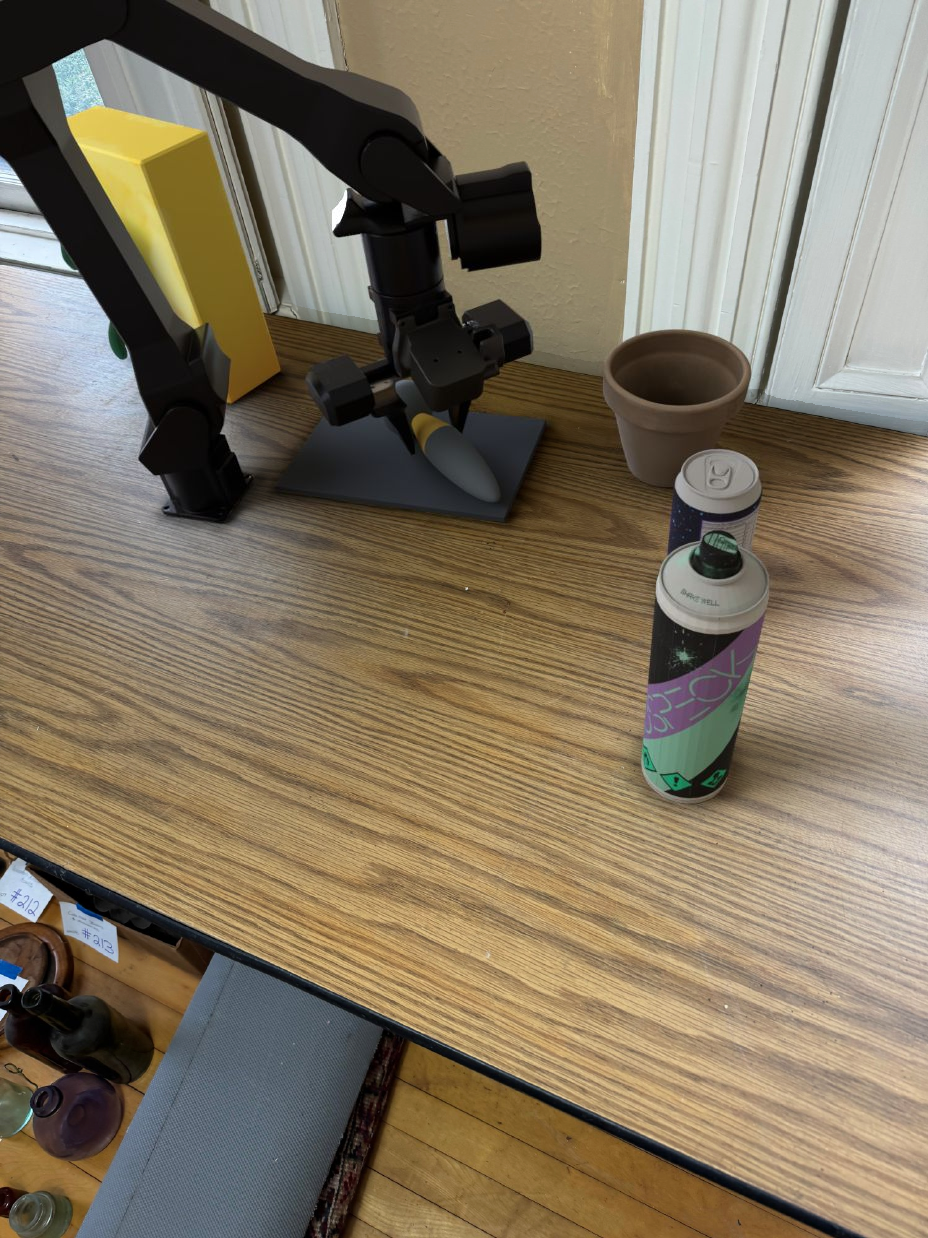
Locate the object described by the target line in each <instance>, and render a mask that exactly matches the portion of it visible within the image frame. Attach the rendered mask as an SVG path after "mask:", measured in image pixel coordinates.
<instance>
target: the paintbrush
mask: <svg viewBox="0 0 928 1238" xmlns="http://www.w3.org/2000/svg"><path fill="white" fill-rule="evenodd" d="M395 387H396V392H397V394H398V395H399V396H400V397H401V398H402V399H403V401H404V402H405V403H406V404H407V408H406V411H405V412H406V416H407V419H408V423H409V426H410V429H411V432H412V435H413V434H415V436H416V438H417V440H418V442H419V444H420V446H421V448H422V450H423V452H424V454H425V456H426V457H427V458H428V460H429V461H430V462H431V463H432V464H433V465H434V466H435V467H436V468H437V469H438V470H439V471H440V472H441V473H442V474H443V475H444V476H446V477H447V478H448V479H449V480H450V481H452V482H453V483H454V484H456V485H457V486H458V487H460V488H461V489H463V490H464V491H466V492H467V493H469V494H471V495H472V496H474V497H476V498H478V499H480V500H483V501H486V502H490V503H496V502H498V501H499V500H500V496H501V494H500V489H499V486H498V483H497V481H496V479H495V477H494V475H493V473H492V471H491V470H490V468H489V467H488V465H487V464H486V462H485V461H484V459H483V458H482V457H481V455H480V454H479V453H478V451H477V450H476V449H475V448H474V446H473V445H472V444H471V443H470V442H469V441H468V440H467V439H466V438H465V437H464V436H463V435H462V434H461V433H460V432H459V431H458V430H457V429H456V428H455V427H453V426H451V425H450V424H448V423H446V422H444V421H442V420H439V419H437V418H435V417H433V416H432V413H433V411H432V410H430V409H429V408H428V407H427V405H426V403H425V401H424V398H423V397H422V395H421V393H420V392H419V390H418V388H417V387H416V385H415V383H414V382H413V380H412V379H410V380H409V379H403V380H400V381H398V382H396V385H395ZM381 418H382V420H383V422H384V424H385V425H386V427H387V428H388V429H389V430H391V431H392V432H394V433H396V431H395V430H394V428H393V427H392V425H391V424H390V422H389V421H388V419H387V417H386V416H384V417H381ZM396 434H397V433H396Z"/></svg>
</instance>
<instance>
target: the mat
mask: <svg viewBox="0 0 928 1238" xmlns="http://www.w3.org/2000/svg"><path fill="white" fill-rule="evenodd" d="M432 416H433V417H435V418H437V419H439V420H442V421H444V422H446V423H448V424H450V425H451V422H450V418H449V413H448V410H446V411H443V412H435V411H433V413H432ZM547 423H548V422H547V419H544V418H537V417H535V418H534V417H525V416H516V415H506V414H498V413H497V414H496V413H495V414H494V413H487V412H476V411H468V415H467V419H466V422H465V426H464V429H463V433H462V435H463V436H464V437H465V438H466V439H467V440H468V441H469V442H470V443H471V444H472V445H473V446H474V448H475V449H476V450H477V451H478V453H479V454H480V455H481V457H482V458H483V459H484V461H485V462H486V464H487V465H488V467H489V468H490V470H491V471H492V473H493V475H494V477H495V479H496V481H497V483H498V486H499V489H500V494H501V496H500V500H499V501H498V502H496V503H490V502H486V501H483V500H480V499H478V498H476V497H474V496H472V495H471V494H469V493H467V492H466V491H464V490H463V489H461V488H460V487H458V486H457V485H456V484H454V483H453V482H452V481H450V480H449V479H448V478H447V477H446V476H444V475H443V474H442V473H441V472H440V471H439V470H438V469H437V468H436V467H435V466H434V465H433V464H432V463H431V462H430V461H429V460H428V458H427V457H426V456H425V454H424V452H423V450H422V448H421V446H420V444H419V442H418V440H417V438H416V436H415V434H413V435H412V436H413V439H414V443H415V452H416V453H415V454H413V455H411V454H410V452H409V451H408V450H407V448H406V447H405V445H404V444H403V442H402V441H401V439H400V438H399V436H398V434H396V433H394V432H392V431H391V430H389V429H388V428H387V427H386V425H385V424H384V422H383V420H382V418H374V417H372V416H371V415H370V414H369V416H366V417H364V418H361V419H359V420H356V421H353V422H351V423H348V424H345V425H343V426H340V427H338V426H331V425H330V424H329V422H328V421H327V420H326V418H325V417H324V415H323V416H322V418H321V419H320V420H319V422H318V423H317V425H316V426H315V428H314V429H313V430H312V432H311V433H310V435H309V436H308V437H307V439H306V440H305V442H304V444H303V445H302V446H301V448H300V449H299V450H298V452H297V454H296V455H295V457H294V458H293V459H292V460H291V462H290V464H289V465H288V467H286V470H285V471H284V472H283V474H282V475H281V476H280V478H279V480H278V481H277V482H276V483H275V485H274V488H275V490H276V492H281V493H288V494H295V495H303V496H308V497H309V496H310V497H317V498H323V499H324V498H325V499H332V500H339V501H345V502H354V503H360V504H365V505H375V506H382V507H389V508H397V509H404V510H410V511H418V512H425V513H431V514H439V515H444V516H445V515H446V516H453V517H460V518H467V519H474V520H481V521H487V522H488V521H489V522H495V523H503V524H505V523H506V521H507V519H508V516H509V515H510V512H511V509H512V507H513V504H514V502H515V500H516V497H517V495H518V493H519V490H520V488H521V486H522V484H523V481H524V479H525V476H526V474H527V472H528V469H529V467H530V465H531V463H532V461H533V458H534V456H535V453H536V451H537V448H538V446H539V444H540V441H541V438H542V437H543V434H544V432H545V429H546V427H547ZM451 426H452V425H451Z"/></svg>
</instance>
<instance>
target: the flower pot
mask: <svg viewBox="0 0 928 1238" xmlns="http://www.w3.org/2000/svg"><path fill="white" fill-rule="evenodd" d="M602 376H603V377H602V393H603V398H604V400H605V403H606V404H607V406H608V407H609V408H610V410H612V412H613V413H614V415H615V420H616V424H617V425H616V426H617V429H618V434H619V438H620V442H621V447H622V450H623V454H624V457H625V460H626V464H627V467H628V469H629V471H630V472H631V474H632V475H633V476H634V477H635V478H636V479H637V480H639V481H640V482H642V483H644V484H647V485H648V486H653V487H658V488H674V482H675V479H676V477H677V476H678V474H679V473H680V472H681V469H682V466H683V464H684V463H685V461H686V460H687V459H688V458H689V457H691V456H693V455H694V454H696V453H699V452H702V451H706V450H712V449H716V446H717V443H718V441H719V439H720V437H721V434H722V433H723V430H724V427H725V425H726V423H727V422H728V421H730V420H731V419H733V417H735V416H736V415H737V414H738V413H739V411H740V410H741V409H742V407H743V406H744V404H745V401H746V398H747V394H748V391H749V386H750V382H751V379H752V367H751V364H750V360H749V359H748V357H747V356H746V354H745V353H744V352H743V351H742V350H741V349H740V348H739V347H738V346H737V345H735V344H734V343H732V342H730V341H728V340H727V339H724V338H723V337H720V336H717V335H715V334H711V333H708V332H705V331H699V330H692V329H684V328H683V329H681V328H679V329H677V328H676V329H675V328H671V329H669V328H668V329H659V330H652V331H648V332H643V333H639V334H637V335H634V336H632V337H629V338H627V339H625V340H624V341H622V342H620V343H619V344H616V346H615V347H614V348H612V349H611V350H610V352H609V353H608V355H607V356H606V358H605V359H604V362H603V368H602Z"/></svg>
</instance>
